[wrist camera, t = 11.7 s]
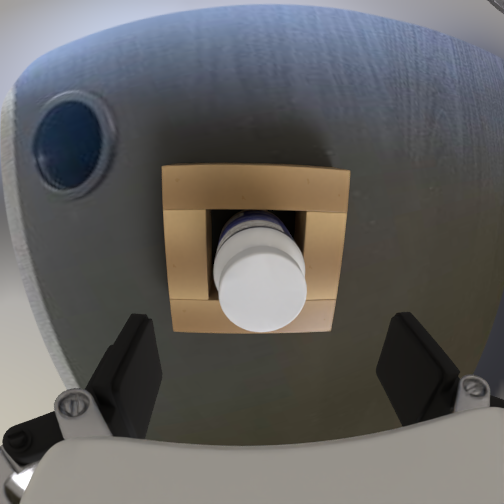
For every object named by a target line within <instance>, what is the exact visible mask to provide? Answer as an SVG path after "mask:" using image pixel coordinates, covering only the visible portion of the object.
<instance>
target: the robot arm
mask: <svg viewBox="0 0 504 504" xmlns="http://www.w3.org/2000/svg"><path fill="white" fill-rule="evenodd" d="M376 373H377V376H378V378H379V380H380V382H381V384H382V386H383V388H384V390H385V392H386V394H387V396H388V398H389V400H390V402H391V404H392V406H393V408H394V410H395V412H396V414H397V416H398V418H399V420H400V422H401V424H402V426H403V427H400V428H396V429H392V430H387V431H383V432H378V433H373V434H368V435H362V436H356V437H350V438H344V439H337V440H330V441H321V442H312V443H301V444H288V445H269V446H216V445H198V444H183V443H171V442H162V441H153V440H145V436H146V433H147V429H148V425H149V422H150V418H151V415H152V411H153V408H154V404H155V401H156V397H157V394H158V391H159V387H160V384H161V380H162V369H161V364H160V360H159V354H158V349H157V344H156V338H155V333H154V327H153V321H152V319H149V318H148V317H147V315H146V314H131V315H130V317H129V319H128V320H127V322H126V324H125V326H124V327H123V329H122V331H121V332H120V334H119V336H118V337H117V339H116V341H115V343H114V344H113V345H110V346H109V348H108V349H107V351H106V352H105V354H104V356H103V358H102V359H101V361H100V363H99V365H98V367H97V368H96V370H95V372H94V374H93V375H92V377H91V379H90V381H89V383H88V385H87V386H86V388H85V390H84V389H80V388H74V389H69V390H66V391H64V392H62V393H61V394H60V395H59V396H58V397H57V398H56V400H55V403H54V410H55V411H53V412H50V413H48V414H45V415H43V416H40V417H37V418H34V419H32V420H29V421H26V422H24V423H21V424H18V425H15V426H13V427H11V428H9V429H8V430H7V431H6V433H5V434H4V437H3V445H1V446H0V504H504V400H503V399H500V398H497V397H494V396H491V395H490V387H489V386H488V384H487V382H486V381H485V380H484V379H482V378H481V377H478V376H476V375H465V376H463V377H462V378H461V379H460V378H459V377H458V375H459V373H460V371H459V369H458V368H457V367H456V366H455V364H454V363H453V362H452V361H451V359H450V358H449V357H448V356H447V354H446V353H445V352H444V351H443V350H442V348H441V347H440V346H439V345H438V344H437V342H436V341H435V340H434V339H433V338H432V336H431V335H430V334H429V333H428V332H427V331H426V329H425V328H424V327H423V326H422V325H421V324H420V323H419V321H418V320H417V319H416V318H415V317H414V316H413V315H412V313H410V312H401V313H396V315H395V316H394V317H392V319H391V322H390V325H389V329H388V332H387V336H386V339H385V342H384V346H383V349H382V352H381V355H380V358H379V361H378V364H377V367H376Z"/></svg>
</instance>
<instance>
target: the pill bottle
mask: <svg viewBox="0 0 504 504" xmlns="http://www.w3.org/2000/svg"><path fill="white" fill-rule="evenodd" d="M213 274H214V281H215V285H216V288H217V290H218V295H219V302H220V305H221V308H222V310H223V312H224V313H225V315H226V316H227V317H228V318H229V320H230V321H231V322H233V323H234V324H235V325H237V326H239V327H241V328H243V329H245V330H248V331H253V332H269V331H274V330H277V329H280V328H282V327H284V326H286V325H287V324H289V323H290V322H291V321H293V320H294V319H295V318H296V317H297V315H298V314H299V313H300V311H301V310H302V308H303V306H304V303H305V301H306V295H307V285H306V280H305V263H304V259H303V256H302V253H301V251H300V249H299V247H298V246H297V244H296V242H295V241H294V239H293V238H292V236H291V234H290V233H289V231H288V230H287V228H286V227H285V225H284V224H283V222H282V221H281V220H280V219H279V218H278V217H277V216H276V215H274V214H273V213H271V212H268V211H266V210H249V209H247V210H244V211H241V212H239V213H237V214H235V215H234V216H232V217H231V218H230V219H229V220H228V221H227V222H226V224H225V225H224V227H223V229H222V231H221V234H220V237H219V242H218V247H217V252H216V256H215V260H214V270H213Z"/></svg>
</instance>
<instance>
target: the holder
mask: <svg viewBox="0 0 504 504" xmlns="http://www.w3.org/2000/svg"><path fill="white" fill-rule="evenodd" d="M349 183H350V170H345V169H340V168H335V167H324V166H309V165H292V164H268V163H179V164H170V165H165V166H162V197H163V209H164V210H163V219H164V237H165V252H166V265H167V276H168V287H169V297H170V306H171V315H172V323H173V331H175V332H199V333H297V332H321V331H331V327H332V321H333V316H334V310H335V304H336V297H337V290H338V283H339V276H340V269H341V262H342V254H343V246H344V237H345V227H346V217H347V208H348V197H349ZM211 209H249V210H294V211H296V215H295V231H294V241H295V242H296V244H297V246H298V247H299V249H300V251H301V253H302V256H303V259H304V263H305V280H306V285H307V295H306V301H305V303H304V306H303V308H302V310H301V311H300V313H299V314H298V315H297V317H296V318H295V319H294V320H293V321H291V322H290V323H289V324H287V325H286V326H284V327H282V328H280V329H277V330H274V331H269V332H253V331H248V330H245V329H243V328H241V327H239V326H237V325H235V324H234V323H233V322H231V321H230V320H229V318H228V317H227V316H226V315H225V313H224V312H223V310H222V308H221V305H220V302H219V295H218V290H217V288H216V285H215V281H214V279H213V270H212V217H211Z"/></svg>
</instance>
